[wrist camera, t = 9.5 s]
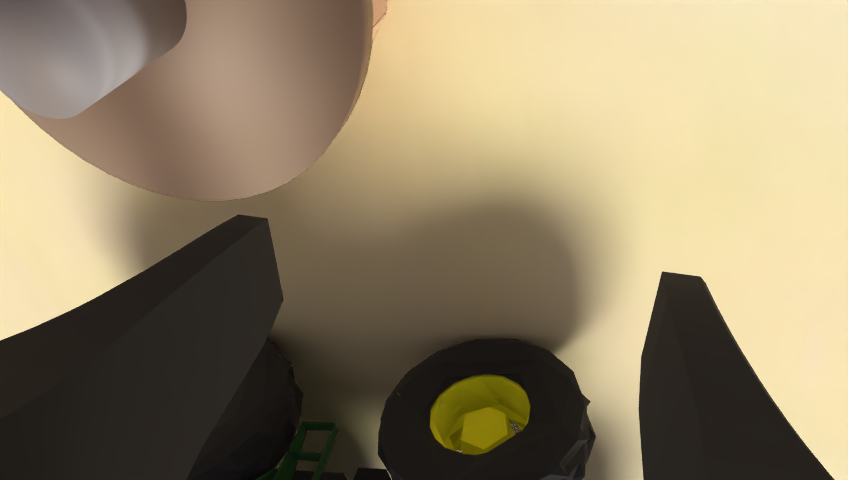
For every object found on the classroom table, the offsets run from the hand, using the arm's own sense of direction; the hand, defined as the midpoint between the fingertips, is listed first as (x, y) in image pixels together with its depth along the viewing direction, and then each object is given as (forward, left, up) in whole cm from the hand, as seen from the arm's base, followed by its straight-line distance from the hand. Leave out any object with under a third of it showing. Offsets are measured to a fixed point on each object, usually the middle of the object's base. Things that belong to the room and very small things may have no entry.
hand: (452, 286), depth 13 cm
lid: (+9, -3, -6) cm, 11 cm away
